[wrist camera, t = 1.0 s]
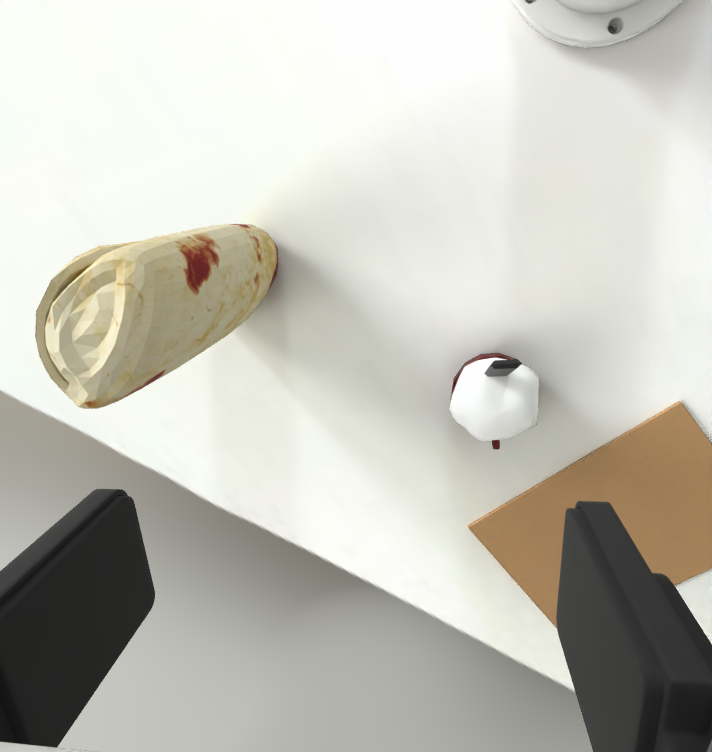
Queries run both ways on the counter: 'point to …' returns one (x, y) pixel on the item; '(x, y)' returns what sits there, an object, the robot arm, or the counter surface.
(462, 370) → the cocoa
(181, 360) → the food model
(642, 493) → the brown rectangular board
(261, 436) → the counter surface
